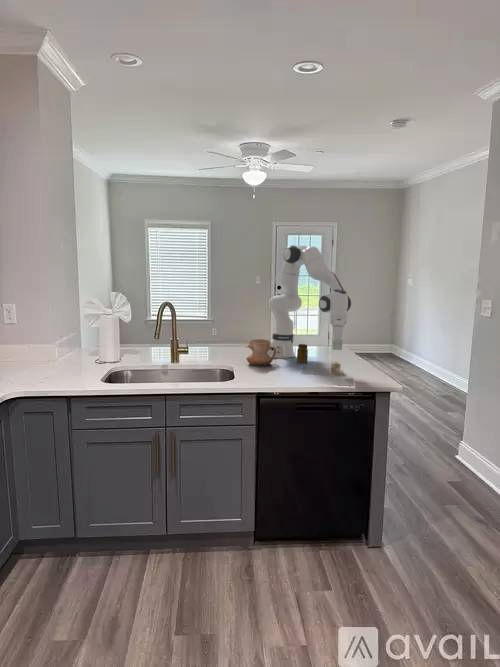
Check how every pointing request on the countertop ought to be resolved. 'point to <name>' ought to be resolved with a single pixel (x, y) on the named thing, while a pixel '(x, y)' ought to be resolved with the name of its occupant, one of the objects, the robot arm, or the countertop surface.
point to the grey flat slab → (320, 372)
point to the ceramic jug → (260, 352)
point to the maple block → (335, 367)
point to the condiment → (302, 354)
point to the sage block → (335, 345)
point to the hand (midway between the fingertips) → (337, 346)
